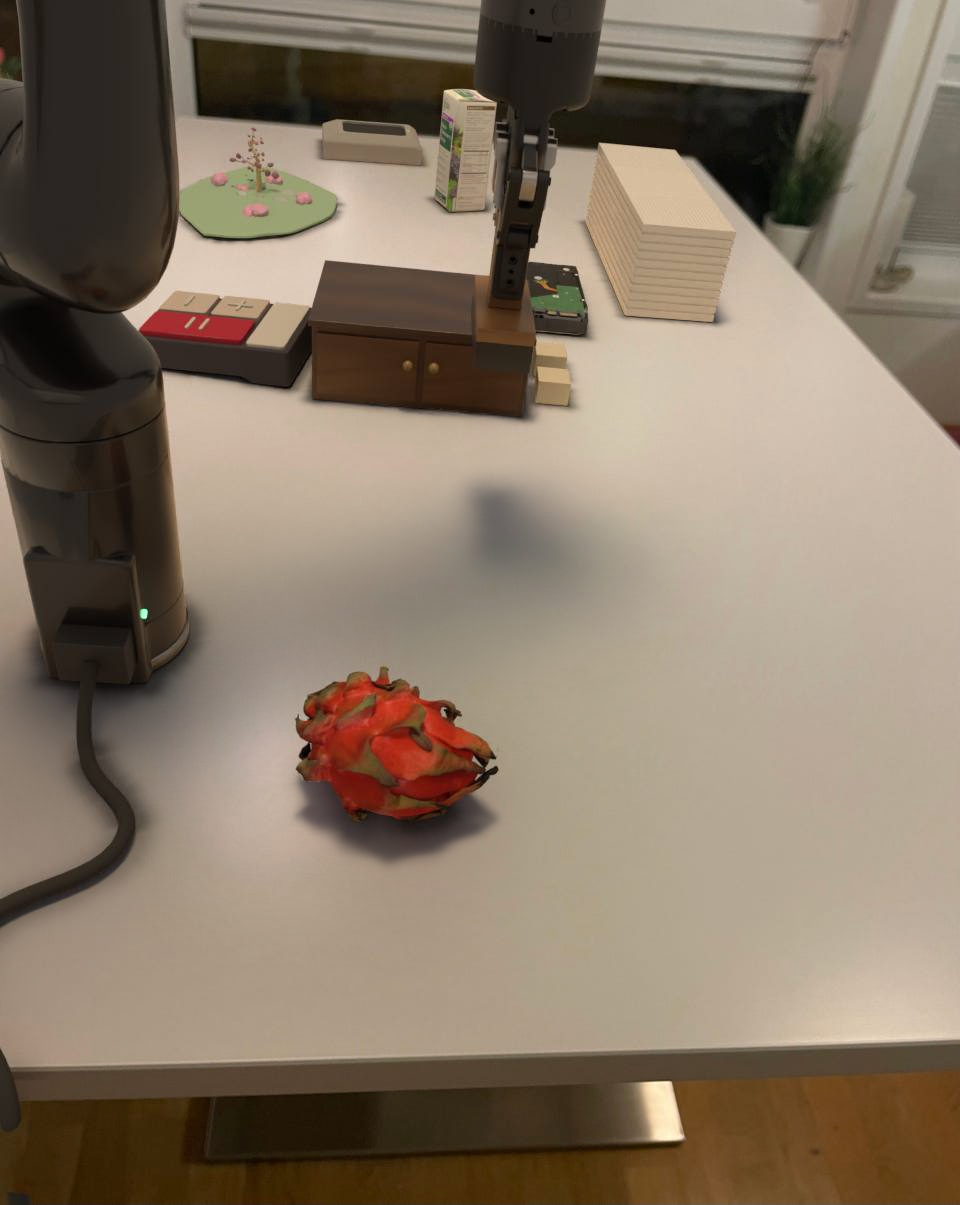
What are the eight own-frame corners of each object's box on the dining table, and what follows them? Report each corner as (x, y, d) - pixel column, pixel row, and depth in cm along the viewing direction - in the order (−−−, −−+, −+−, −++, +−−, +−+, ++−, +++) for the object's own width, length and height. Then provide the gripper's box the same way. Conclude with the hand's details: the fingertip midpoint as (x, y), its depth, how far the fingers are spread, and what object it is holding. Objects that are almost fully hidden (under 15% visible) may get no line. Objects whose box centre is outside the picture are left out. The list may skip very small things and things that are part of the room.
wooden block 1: (536, 354, 103) (533, 376, 104) (567, 357, 103) (563, 378, 105) (534, 340, 105) (531, 362, 107) (565, 343, 106) (561, 364, 107)
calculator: (171, 285, 103) (316, 300, 102) (177, 326, 106) (318, 340, 105) (129, 329, 95) (287, 345, 94) (137, 371, 97) (290, 387, 97)
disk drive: (489, 280, 124) (495, 329, 112) (491, 257, 122) (498, 305, 110) (572, 287, 125) (588, 337, 113) (576, 264, 123) (592, 313, 111)
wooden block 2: (538, 380, 98) (535, 403, 100) (571, 383, 98) (567, 406, 100) (536, 366, 101) (533, 388, 102) (568, 369, 101) (565, 390, 102)
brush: (529, 374, 71) (549, 246, 66) (473, 368, 71) (488, 239, 65) (521, 317, 79) (539, 199, 73) (470, 312, 79) (484, 192, 73)
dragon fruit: (286, 771, 62) (471, 836, 62) (250, 805, 54) (464, 880, 53) (330, 640, 62) (517, 705, 61) (301, 653, 53) (517, 729, 53)
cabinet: (525, 422, 96) (537, 343, 91) (307, 403, 95) (307, 322, 90) (518, 352, 108) (528, 279, 103) (324, 334, 107) (325, 259, 102)
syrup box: (432, 199, 145) (440, 88, 136) (470, 197, 147) (480, 88, 138) (448, 212, 141) (458, 99, 132) (486, 211, 143) (498, 99, 134)
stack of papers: (712, 322, 120) (736, 231, 114) (624, 315, 119) (643, 223, 112) (658, 229, 145) (675, 149, 138) (585, 222, 144) (598, 142, 137)
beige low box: (322, 115, 160) (417, 123, 162) (322, 140, 162) (415, 147, 164) (323, 132, 152) (422, 140, 155) (323, 158, 155) (421, 165, 157)
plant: (331, 249, 126) (332, 173, 120) (160, 235, 123) (153, 157, 118) (339, 186, 145) (341, 118, 140) (192, 173, 143) (187, 104, 137)
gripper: (478, -11, 67) (452, 250, 78) (483, 26, 56) (453, 324, 67) (589, 4, 68) (549, 260, 78) (616, 42, 57) (565, 335, 67)
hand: (505, 288), depth 72 cm, fingers closed on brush, 2 cm apart
